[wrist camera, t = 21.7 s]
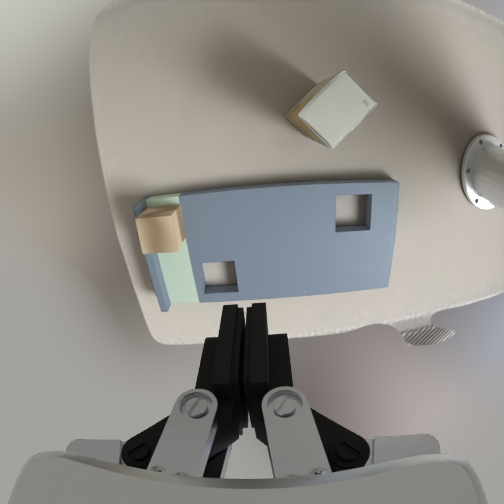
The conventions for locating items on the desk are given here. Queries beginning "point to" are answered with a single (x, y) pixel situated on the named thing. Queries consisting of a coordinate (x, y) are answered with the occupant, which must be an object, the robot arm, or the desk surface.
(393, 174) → the desk surface
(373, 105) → the skincare box
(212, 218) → the board
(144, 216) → the block
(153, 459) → the robot arm
